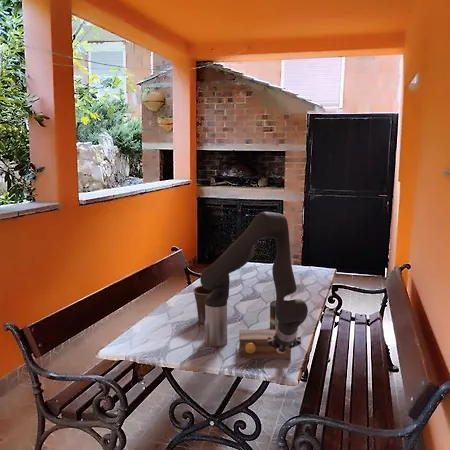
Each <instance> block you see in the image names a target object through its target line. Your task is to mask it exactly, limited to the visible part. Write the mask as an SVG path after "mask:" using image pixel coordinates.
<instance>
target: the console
mask: <svg viewBox="0 0 450 450" xmlns="http://www.w3.org/2000/svg"><path fill="white" fill-rule="evenodd" d="M238 331H239V338H238V339H239V341H238V342H239V346H238V347H239V348H238V349H239V359H240V360H242V359H244V360H249V359H250V360H251V359H252V360H256V359H257V360H258V359H259V360H260V359H261V360H264V359H266V360H270V359H273V360H278V359H282V360H285V359H287V360H288V359H290V360H292V359H291V358H292V348H289V347H288V348H287V350H286V352H285V353H282V354H280V353H278V352H277V350H276V348H274V347H272V346H270V345H268V337H270V338H273V337H274V336H275V333H276V330H270V329H239V330H238ZM246 342H254V344H255V348H256V350H255V352H254V353H251V354H250V353H247V352H246V350H245V346H246Z"/></svg>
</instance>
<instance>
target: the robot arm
mask: <svg viewBox="0 0 450 450" xmlns="http://www.w3.org/2000/svg"><path fill="white" fill-rule="evenodd" d="M265 238H266V239H274V241H275V244H276V254H275V259H274V260H273V264H272V271H271V272H272V273H271V274H272V280H273V284H274V287H275V288H274V289H275V294H276V295H275V297H276V298H275V299H276V308H275V315H276V318H277V320H278V324H277V327H276V333H275V336H274V337H273V338H270V337H268V345H270V346H272V347H274V348H276V349H277V348H279V351H281V352H285V351H286V350H287V348H288V347H289V348H291V349H294V348H296V347H298V346H300V345H302V338H301V337H300V336H299V337H297V335H298V333H299V330H298V329H299V327H300V326H301V325H302V324H303V323H304V322H305V321H306V319H307V317H308V313H309V311H308V309H309V308H308V305H307V303H306V302H305V301H304V300H303V299H301V298H299V299H298V298H297V299H296V298H294V299H295V300H290V299H289V300H287V301H284V300H285V298H286V297H287V296H290V295H292V294H294V293H295V292H296V291H297V289H298V288H297V284H296V279H295V275H294V270H293V265H292V259H291V242H290V231H289V223H288V220H287V217H286V216H285V215H284V214H282V213H279V212H272V211H262V212H259V213H258V214H257V215H256V216H255V217H254V218H253V220H252V221H251V222H250V223H249V225H248V227H246V229H245V230H244V231H243V232H242V233H241V235H239V236H238V237H237V238H236V240H234V241H233V242H232V243H231V244H230V245H229V246H228V248H227V249H226V250H225V251H224V252H223V253H222V254H221V255H219V257H218V258H217V259H216V260H215V261H214V262H212V263H211V264H210V265H209V266H207V267H206V268H204V269H203V270H202V272H201V274H200V280H199V281H200V286H203V287H204V288H205V289H208V290H213V291H212V292H211V293H210V294H209V295H208V296H207V297H206V299H205V325H204V341H205V345H206V346H207V347H215V348H216V347H217V348H218V347H224V346H226V345H228V299H229V295H230V281H231V280H230V274H232V273H233V272H236V271H238V270H239V269H241V268H243V267H244V266H246V264H247V263H248V262H250V261H251V259H252V258H253V257H254V255H255V249H256V248H255V245H256V244H257V242H259V241H260V240H262V239H265Z"/></svg>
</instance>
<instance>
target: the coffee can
mask: <svg viewBox="0 0 450 450" xmlns="http://www.w3.org/2000/svg"><path fill="white" fill-rule="evenodd" d="M284 301H288V300H286V299H284ZM275 308H276V300H272V301H270V302H269V330H276V327H277V324H278V320H277V318H276V315H275Z"/></svg>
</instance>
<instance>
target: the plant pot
mask: <svg viewBox="0 0 450 450" xmlns="http://www.w3.org/2000/svg"><path fill="white" fill-rule="evenodd" d="M192 291H193V293H194V299H195V303H196V311H197V319H198V320H197V321H198V324H200V325H203V326H205V299H206V297H207V296H208V295H209V294H210V293H211V292H212V291H213V290H208V289H205V288H204V287H203V286H202V285H199V286H196V287H194V288H193V290H192Z"/></svg>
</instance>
